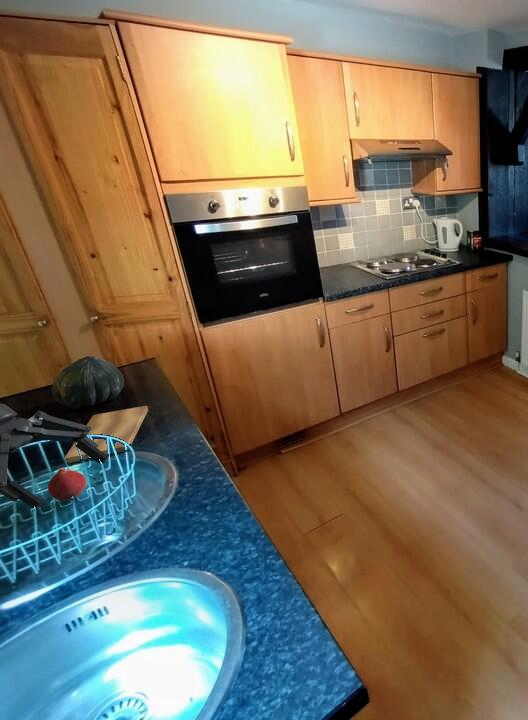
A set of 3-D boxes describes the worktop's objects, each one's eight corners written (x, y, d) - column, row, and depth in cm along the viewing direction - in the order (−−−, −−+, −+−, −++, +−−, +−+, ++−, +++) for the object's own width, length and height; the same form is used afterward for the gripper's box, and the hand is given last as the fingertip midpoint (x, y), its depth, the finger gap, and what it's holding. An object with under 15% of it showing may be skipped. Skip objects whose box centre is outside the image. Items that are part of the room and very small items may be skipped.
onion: (65, 511, 94) (50, 481, 91) (49, 504, 96) (33, 474, 93) (97, 493, 99) (84, 464, 96) (81, 486, 101) (67, 457, 98)
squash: (37, 389, 127) (44, 360, 120) (98, 368, 140) (108, 340, 133) (71, 426, 127) (80, 399, 120) (129, 402, 141) (140, 375, 133)
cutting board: (66, 463, 108) (63, 458, 107) (95, 419, 124) (93, 414, 123) (128, 450, 112) (126, 445, 112) (148, 409, 129) (146, 405, 128)
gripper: (41, 394, 104) (121, 453, 108) (-109, 466, 81) (0, 536, 85) (52, 375, 101) (133, 436, 105) (-100, 444, 78) (12, 519, 83)
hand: (74, 481), depth 95 cm, fingers open, 13 cm apart
